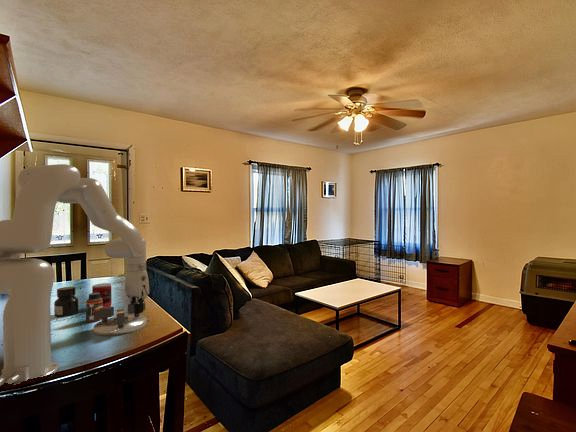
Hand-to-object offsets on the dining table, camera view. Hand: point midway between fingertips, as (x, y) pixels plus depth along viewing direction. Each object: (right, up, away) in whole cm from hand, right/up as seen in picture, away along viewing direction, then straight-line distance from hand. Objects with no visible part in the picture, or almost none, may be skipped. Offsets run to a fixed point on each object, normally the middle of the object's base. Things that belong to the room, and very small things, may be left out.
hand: (136, 312), depth 120 cm
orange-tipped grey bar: (-10, -2, -6) cm, 11 cm away
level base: (-3, -4, -6) cm, 8 cm away
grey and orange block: (0, -2, 0) cm, 2 cm away
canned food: (-29, -5, +23) cm, 38 cm away
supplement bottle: (-20, -5, +4) cm, 21 cm away
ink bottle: (-39, -5, +13) cm, 41 cm away
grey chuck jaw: (0, -1, -11) cm, 11 cm away
